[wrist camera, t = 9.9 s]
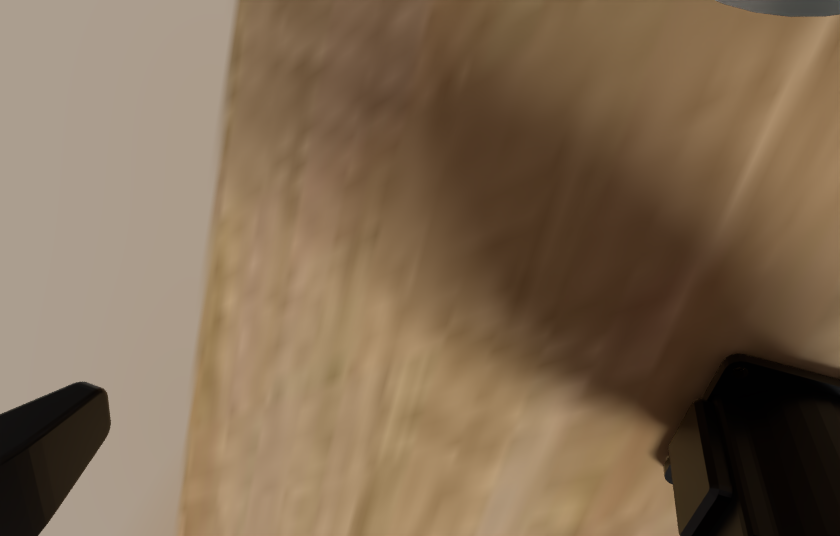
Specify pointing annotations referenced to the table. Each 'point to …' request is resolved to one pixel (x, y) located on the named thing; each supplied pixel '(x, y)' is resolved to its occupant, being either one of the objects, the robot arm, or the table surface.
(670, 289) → the table surface
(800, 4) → the bracket
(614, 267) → the table surface
